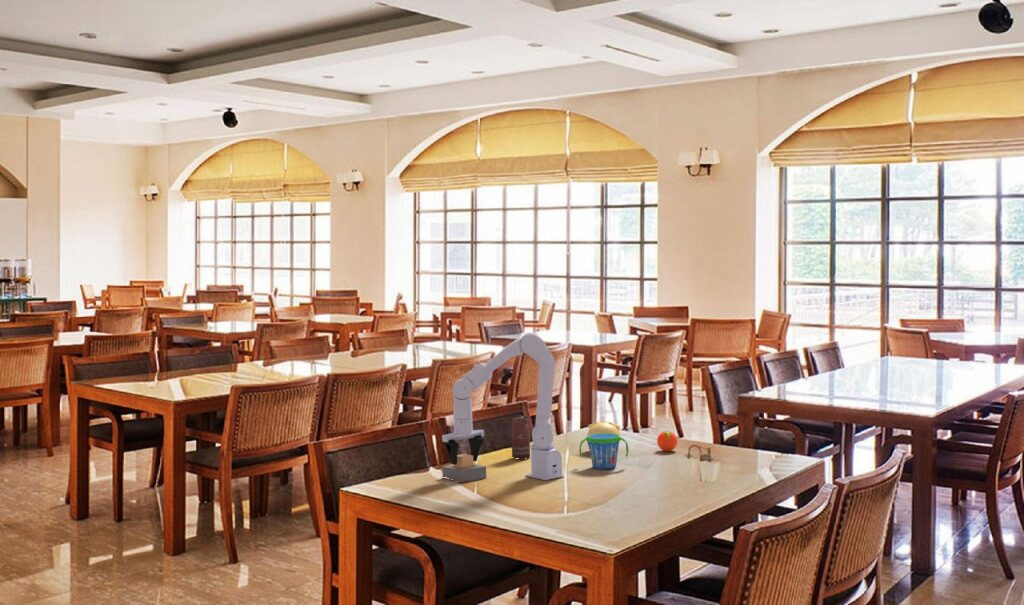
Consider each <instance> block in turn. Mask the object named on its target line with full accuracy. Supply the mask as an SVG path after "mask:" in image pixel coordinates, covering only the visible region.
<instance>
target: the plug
mask: <svg viewBox="0 0 1024 605" xmlns="http://www.w3.org/2000/svg"><path fill="white" fill-rule="evenodd" d="M473 464H474V461H473V455H471V454H468V453H461V454H457V465H455V467H456V468H460V469H465V468H471V467H473Z"/></svg>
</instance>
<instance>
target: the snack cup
mask: <svg viewBox="0 0 1024 605" xmlns="http://www.w3.org/2000/svg"><path fill="white" fill-rule="evenodd" d="M585 441H586V442H588V443H587V446H588V448H589V452H590V454H589V455H590V460H591V465H592V468H595V469H597V470H607V469H613V468H616V467H617V461H618V452H619V447H618V444H619V441H620V442H621V441H623V442H624V443H625V450H626V451H625V452H626V454H625V456H626V458H628V455H629V445H628V441H627V440H626V439H625V438H624V437H622V436H621V434H620V435H618V434H611V433H600V434H592V435H588V436H587V435H586V437H585V438H583V439H582V440H581V442H580V444H579V455H580V457H581V458H583V455H582V445H583V443H584V442H585ZM619 445H620V444H619Z"/></svg>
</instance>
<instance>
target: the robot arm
mask: <svg viewBox="0 0 1024 605" xmlns="http://www.w3.org/2000/svg"><path fill="white" fill-rule="evenodd" d="M523 353H524V354H526V355H527V356H529V357H532V359H533V360H534V361H535V362H536V363H537V364H538V365H539V368H538V369H539V370H538V384H537V399H536V400H537V402H536V414H535V424H534V426H533V428H532V430H531V437H532V443H533V444H530V459H531V460H530V466H531V468H530V469H531V472H530V473H526V474H525V476H526V477H530V478H534V479H538V480H543V481H548V480H553V479H557V478H558V479H559V478H564V477H565V474H563V460H562V459H563V458H562V453H560V451H559V450H557V449H556V448H555V444H553V441H554V435H553V431H552V429H551V428H552V404H553V391H554V390H553V389H554V377H555V376H554V375H555V357H554V356H553V354H552V353H551V351H550V350H549V348H548V346H547V344H546V343H545V341H544V339H542V338H541V337H540V336H539V335H538V334H536V333H534V332H527V333H525V334H523V336H522V337H518V338H517V339H515V340H514V341H512V342H511V343H509V344H508V345H506V346H505V347H504V348H502V350H500V351H499V352H498V353H497V354H495V355H494V356H493V357H492V358H491V359H490V360H488V362H479V363H478V364H477V363H475V364H473V366H472V367H473V368H472V369H471V370H469V371H468V372H467V373H463V374H461V378H459V379H457V380H456V381H455V382H454V384H453V386H452V394H453V405H452V406H453V408H452V409H453V411H452V412H453V432H451V433H450V432H449V433H447V434H442V436H441V440H442V445H443V446H444V448H445V449H446V451H447V454H448V457H449V459H450V465H457V455H458V449H459V446H460V443H459V442H457V441H459V440H466V439H468V443H469V448H470V455H473V462H478V457H479V452H480V450H481V447H482V445H483V443H484V441H485V438H484V437H485V430H484V429H475V430H474V429H473V428H474V427H473V426H474V424H473V403H472V395H471V394H472V391H476V390H478V389H479V388H481V387H482V386H483V385H484V384H485V383H487V382H489V380H490V379H492V377H493V372H494V371H495V370H496V369H498V368H499V367H500V366H502V365H503V364H504V363H506V362H507V361H509V360H510V359H511V358H512V357H515V356H516V357H518V356H523Z"/></svg>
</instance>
